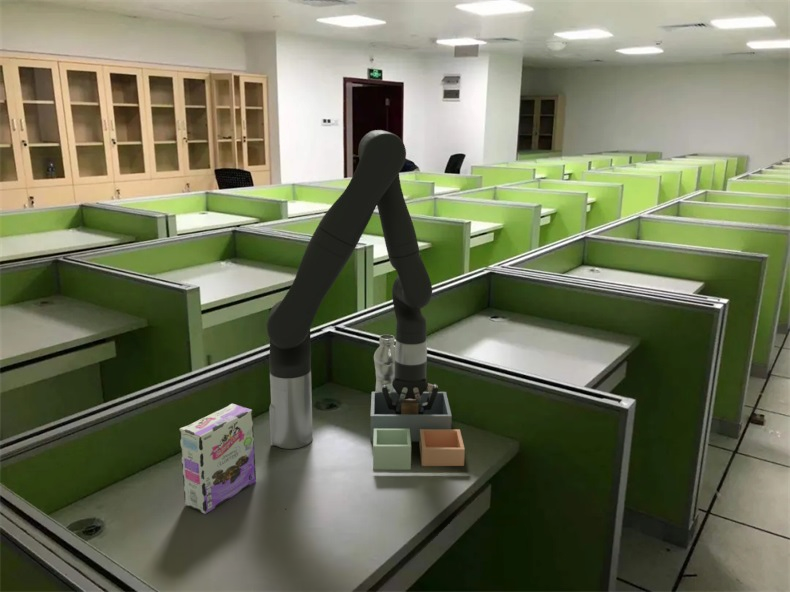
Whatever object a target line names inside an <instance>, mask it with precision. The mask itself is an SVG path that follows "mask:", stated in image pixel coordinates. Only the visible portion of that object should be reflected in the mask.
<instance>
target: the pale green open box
mask: <svg viewBox="0 0 790 592" xmlns="http://www.w3.org/2000/svg"><path fill="white" fill-rule="evenodd" d="M372 445H373V446H372V470H411V469H412V465H411V464H412V442H411V438H410V429H374V436H373V441H372Z"/></svg>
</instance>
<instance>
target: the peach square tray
mask: <svg viewBox="0 0 790 592" xmlns="http://www.w3.org/2000/svg"><path fill="white" fill-rule="evenodd" d="M465 449H466V448H465V445H464V441H463V436H462V433H461V429H457V428H456V429H452V428H451V429H420V442H419V452H420V453H419V454H420V461H421V467H464V466H465V451H466V450H465Z"/></svg>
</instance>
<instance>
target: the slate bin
mask: <svg viewBox="0 0 790 592" xmlns="http://www.w3.org/2000/svg"><path fill="white" fill-rule="evenodd" d="M390 395H391V398H392V401H393V402H394V403H396V402H397V399H398V395H399V394H398V393H397V392H391V393H390ZM428 396H429V392H428V391H424V392H423V393H422V395H421V399H422V403H426V401H427V398H428ZM370 400H371V401H370V442H373V436H374V429H410V438H411V443H412V442H417V443H418V442H419V443H420V429H452V420H453V419H452V418H453V417H452V411H451V407H450V403H449V399H448V396H447V391H438V393H437V395H436V398H435V400H434V403H433V405H432V408H431V409H430V410H425V411H424V412H423V415H408V414H396V412H395V410H390V409H389V408H388V405H387V403H386V400H385V397H384V394H383V392H375V391H371V398H370Z"/></svg>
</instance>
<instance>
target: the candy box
mask: <svg viewBox="0 0 790 592" xmlns="http://www.w3.org/2000/svg"><path fill="white" fill-rule="evenodd" d="M253 420H254V417H253V409H251V408H247V407H245V406H242V405H240V404H239V405H238V404H235V403H230V404H229V405H227V406H225V407H223V408H221V409H219V410H216V411H214V412H212V413H210V414H208V415H207V416H204V417H202V418H199V419H198V420H196V421H194V422H192V423H190V424H188V425H185V426H182V427H180V428H179V431H178V432H179V441H180V455H181V466H182V467H181V469H182V479H183V481H182V482H183V496H184V498H183V499H184V505H185V506H188V507H190V508H192V509H194V510H196V511H198V512H200V513H203V514H204V515H206V514H208V513H209V512H211V511H213V510H214V509H216V508H217V507H218V506H220V505H222V504H223V503H225V502H226V501H228V500H230V499H231V498H232V497H234V496H235V495H237V494H239V493H240V492H242V491H243V490H245V489H246V488H248V487H250V486H251V485H253V484H254V483H256V482H257V473H256V457H255V455H256V454H255V438H254V421H253Z"/></svg>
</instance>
